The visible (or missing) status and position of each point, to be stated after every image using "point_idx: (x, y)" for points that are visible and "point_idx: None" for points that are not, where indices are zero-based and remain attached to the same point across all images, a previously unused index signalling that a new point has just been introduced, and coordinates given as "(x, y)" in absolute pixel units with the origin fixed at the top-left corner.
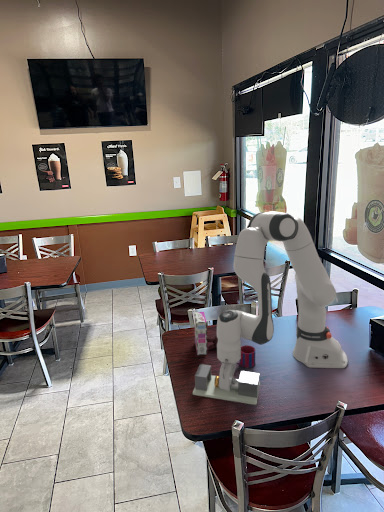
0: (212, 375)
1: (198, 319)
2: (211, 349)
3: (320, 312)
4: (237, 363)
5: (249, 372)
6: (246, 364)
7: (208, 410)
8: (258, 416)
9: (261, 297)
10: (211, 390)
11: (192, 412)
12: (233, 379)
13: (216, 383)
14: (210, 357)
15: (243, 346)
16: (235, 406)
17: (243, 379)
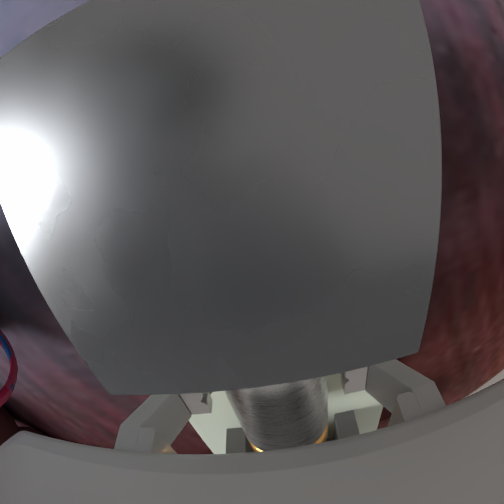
0: (196, 430)
1: None
2: (41, 433)
3: None
4: (11, 357)
5: (42, 274)
6: None
7: (475, 331)
8: (479, 21)
9: None
10: (343, 398)
11: (478, 370)
12: (275, 385)
13: (327, 425)
14: (76, 434)
15: None
16: (446, 207)
17: (339, 309)
